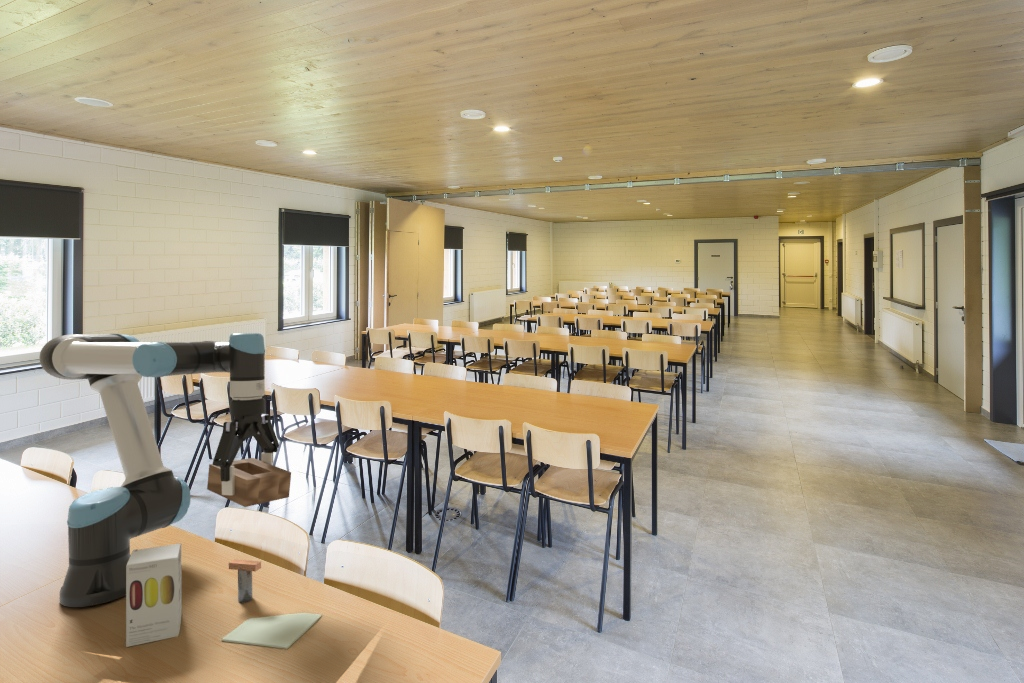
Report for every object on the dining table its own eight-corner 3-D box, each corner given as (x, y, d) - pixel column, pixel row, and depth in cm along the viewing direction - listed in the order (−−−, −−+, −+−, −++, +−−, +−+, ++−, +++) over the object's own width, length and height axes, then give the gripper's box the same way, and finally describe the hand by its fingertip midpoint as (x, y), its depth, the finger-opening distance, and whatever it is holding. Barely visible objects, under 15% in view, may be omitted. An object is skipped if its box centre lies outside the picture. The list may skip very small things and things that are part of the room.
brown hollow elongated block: (244, 507, 123) (247, 480, 123) (207, 489, 132) (209, 464, 132) (288, 497, 132) (291, 472, 132) (250, 481, 141) (252, 457, 141)
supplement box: (124, 648, 112) (123, 565, 111) (131, 627, 120) (130, 549, 120) (180, 636, 116) (179, 556, 116) (182, 616, 124) (181, 541, 124)
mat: (221, 641, 114) (221, 639, 114) (262, 610, 127) (262, 608, 127) (287, 648, 111) (287, 646, 111) (322, 616, 124) (322, 614, 124)
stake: (226, 607, 128) (225, 564, 128) (238, 599, 132) (237, 557, 132) (253, 610, 127) (252, 566, 127) (264, 602, 131) (263, 559, 131)
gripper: (224, 404, 119) (225, 503, 119) (293, 392, 143) (293, 474, 144) (193, 404, 120) (194, 501, 121) (267, 392, 145) (268, 472, 145)
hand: (248, 487), depth 132 cm, fingers closed on brown hollow elongated block, 13 cm apart
